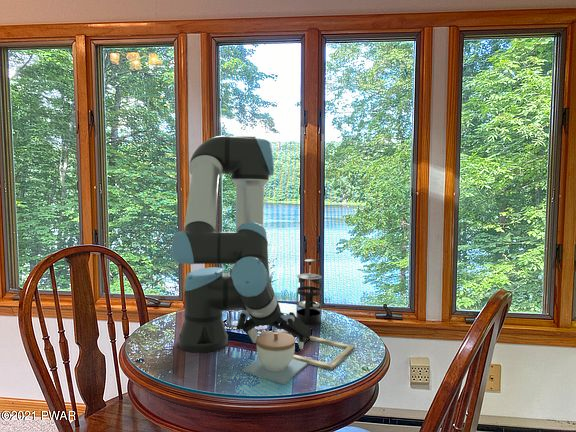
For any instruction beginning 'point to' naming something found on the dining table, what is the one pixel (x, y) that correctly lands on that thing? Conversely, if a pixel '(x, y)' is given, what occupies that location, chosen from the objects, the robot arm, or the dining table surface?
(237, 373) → the dining table surface
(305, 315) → the french press
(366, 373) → the dining table surface
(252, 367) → the rubber mat
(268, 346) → the lidded jar
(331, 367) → the birch frame
